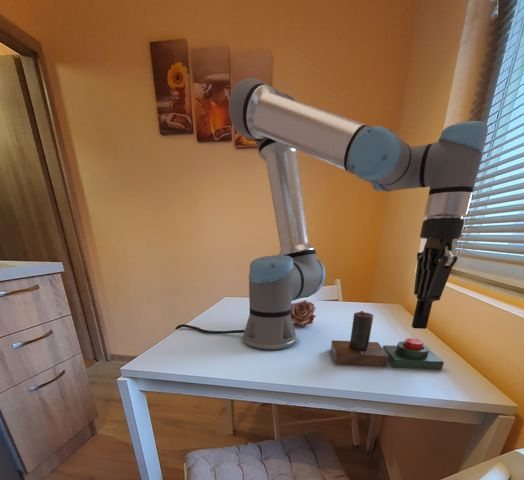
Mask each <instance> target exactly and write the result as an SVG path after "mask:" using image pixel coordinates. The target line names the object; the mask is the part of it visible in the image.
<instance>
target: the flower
mask: <svg viewBox="0 0 524 480" xmlns="http://www.w3.org/2000/svg"><path fill="white" fill-rule="evenodd" d="M315 311H316V306H315V304H314V303H313V302H311V301H307V300H306V299H304V300H302V301H298V302H293V303H292V302H291V319H292V323H293V326H294V325H302V326H303V327H304V328H306V326H307V325H312V324H313V323H314V319H316V317H317V315H315V314H314V313H315Z"/></svg>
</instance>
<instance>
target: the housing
mask: <svg viewBox="0 0 524 480" xmlns="http://www.w3.org/2000/svg"><path fill="white" fill-rule="evenodd" d="M404 344H405V340H402V341H399V342H397V345H385V344H384V345H383V346H382V348H383V349H384V351H385V352H386V353H387V354H388V356H389V358H388V363H389V365H391V367H392V368H393V369H412V370H413V369H414V370H429V371H430V370H431V371H432V370H434V371H442V370H443V366H444V363H445V361H444V360H443V359H442V358H440V357H439V356H438V355H437V354H435V353H434V352H433V351H432V350H431V349H430V347H428V346H427V345H425V344H423V348H422V350H413V349H408V348H406V347H404Z"/></svg>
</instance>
